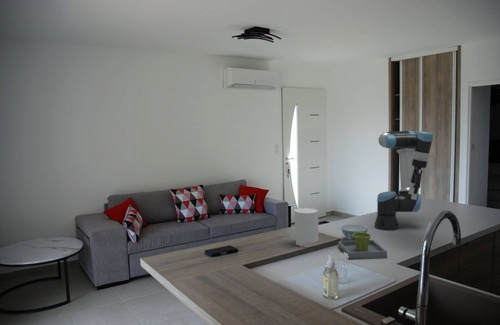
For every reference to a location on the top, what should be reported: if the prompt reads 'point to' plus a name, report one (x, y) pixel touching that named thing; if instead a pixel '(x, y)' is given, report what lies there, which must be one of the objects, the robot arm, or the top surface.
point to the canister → (306, 225)
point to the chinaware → (353, 230)
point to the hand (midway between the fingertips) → (412, 196)
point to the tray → (372, 252)
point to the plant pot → (361, 241)
